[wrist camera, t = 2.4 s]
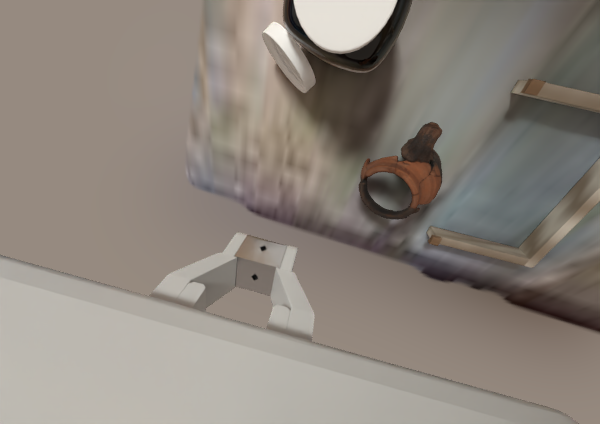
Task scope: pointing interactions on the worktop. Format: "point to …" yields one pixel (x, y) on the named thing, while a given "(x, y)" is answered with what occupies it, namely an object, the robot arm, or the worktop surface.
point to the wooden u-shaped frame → (563, 217)
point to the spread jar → (334, 35)
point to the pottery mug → (409, 172)
